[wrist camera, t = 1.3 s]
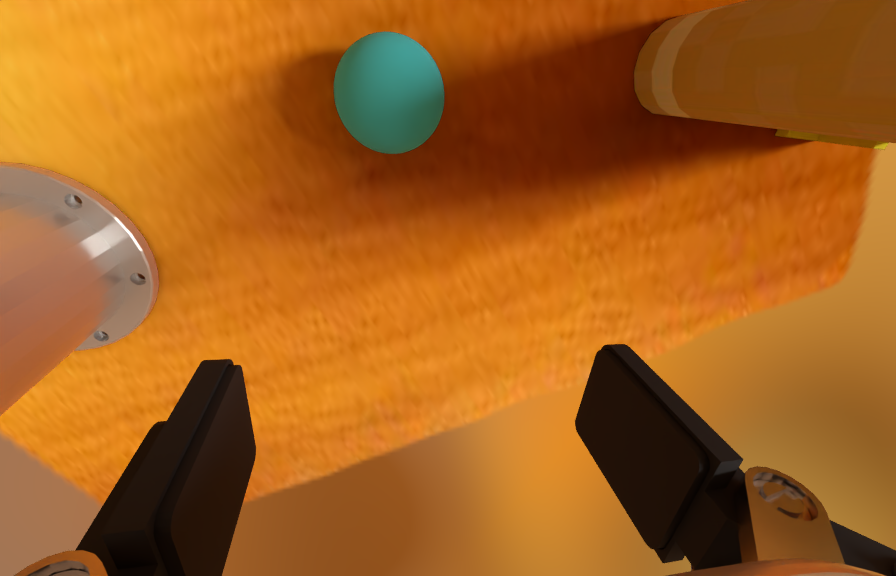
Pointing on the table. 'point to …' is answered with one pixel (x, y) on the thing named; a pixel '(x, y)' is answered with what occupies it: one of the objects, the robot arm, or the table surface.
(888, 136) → the book
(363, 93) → the ball
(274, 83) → the table surface
